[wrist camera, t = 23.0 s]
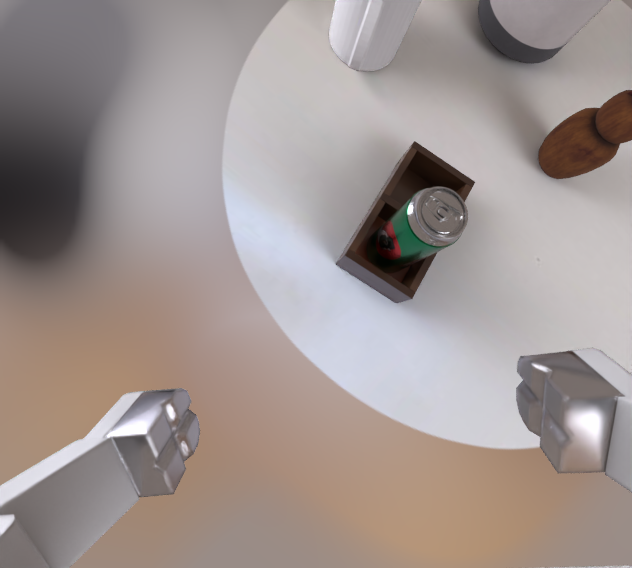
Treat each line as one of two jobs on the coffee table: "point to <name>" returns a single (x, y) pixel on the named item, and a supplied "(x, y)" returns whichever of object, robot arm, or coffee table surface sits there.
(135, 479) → the robot arm
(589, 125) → the wooden figurine
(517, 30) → the planter
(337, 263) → the holder
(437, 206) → the soda can
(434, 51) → the coffee table surface
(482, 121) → the coffee table surface
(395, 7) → the mug
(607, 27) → the coffee table surface
